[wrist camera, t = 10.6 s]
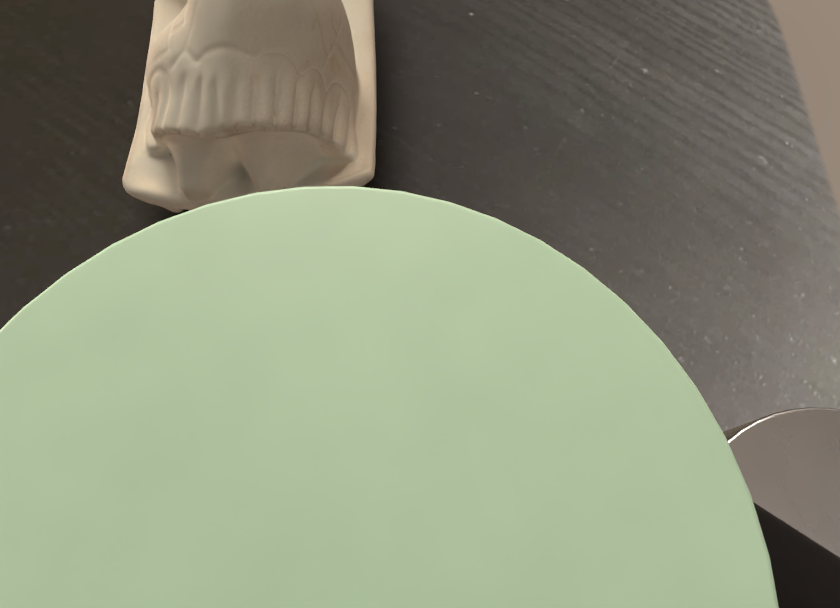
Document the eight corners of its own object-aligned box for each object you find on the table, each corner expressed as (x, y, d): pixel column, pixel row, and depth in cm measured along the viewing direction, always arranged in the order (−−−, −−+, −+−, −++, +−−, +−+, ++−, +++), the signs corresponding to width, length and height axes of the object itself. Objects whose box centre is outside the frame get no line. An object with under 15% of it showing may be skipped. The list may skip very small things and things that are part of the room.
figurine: (225, -75, 30) (155, -292, 22) (467, -17, 29) (483, -226, 21) (68, 205, 25) (-92, 52, 17) (350, 289, 24) (314, 165, 16)
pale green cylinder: (509, 861, 10) (695, 1536, 3) (118, 704, 10) (-408, 977, 4) (606, 442, 12) (838, 311, 5) (274, 335, 12) (108, 101, 6)
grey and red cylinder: (814, 610, 20) (1097, 658, 12) (642, 705, 19) (812, 831, 11) (704, 428, 22) (879, 356, 14) (543, 507, 21) (623, 483, 13)
